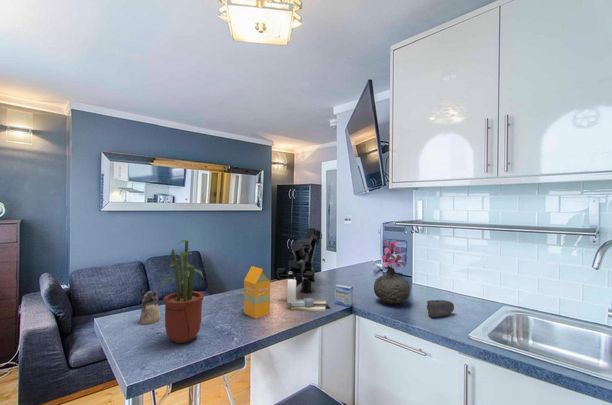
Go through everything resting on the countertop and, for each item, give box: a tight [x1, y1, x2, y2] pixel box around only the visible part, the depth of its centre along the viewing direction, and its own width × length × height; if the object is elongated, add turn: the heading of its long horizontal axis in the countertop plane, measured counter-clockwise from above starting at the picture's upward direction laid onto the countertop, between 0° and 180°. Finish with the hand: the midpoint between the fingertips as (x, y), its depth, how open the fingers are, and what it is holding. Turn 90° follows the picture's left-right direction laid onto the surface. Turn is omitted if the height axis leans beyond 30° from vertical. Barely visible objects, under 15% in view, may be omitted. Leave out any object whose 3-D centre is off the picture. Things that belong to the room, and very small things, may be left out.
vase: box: [373, 240, 411, 306], centre depth 143 cm, size 17×17×30 cm
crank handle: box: [286, 278, 330, 307], centre depth 134 cm, size 19×4×12 cm, turn 91°
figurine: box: [139, 290, 161, 325], centre depth 117 cm, size 7×7×12 cm
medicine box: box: [334, 284, 354, 308], centre depth 140 cm, size 8×4×9 cm, turn 62°
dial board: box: [290, 298, 333, 313], centre depth 136 cm, size 12×19×1 cm, turn 84°
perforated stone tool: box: [426, 299, 455, 318], centre depth 128 cm, size 15×5×7 cm, turn 109°
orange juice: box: [243, 265, 271, 319], centre depth 126 cm, size 8×9×20 cm
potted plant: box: [155, 239, 205, 344], centre depth 103 cm, size 17×16×35 cm
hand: (292, 290), depth 136 cm, fingers closed, pressing on crank handle
